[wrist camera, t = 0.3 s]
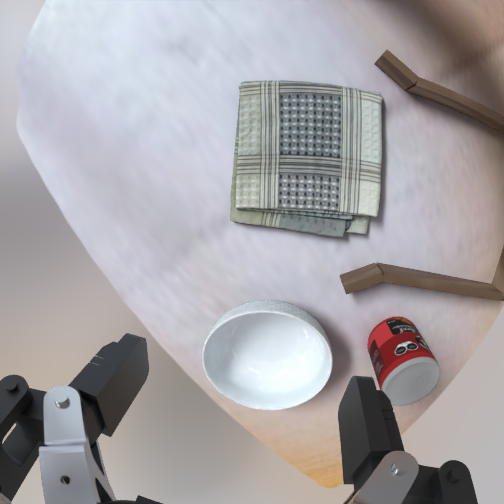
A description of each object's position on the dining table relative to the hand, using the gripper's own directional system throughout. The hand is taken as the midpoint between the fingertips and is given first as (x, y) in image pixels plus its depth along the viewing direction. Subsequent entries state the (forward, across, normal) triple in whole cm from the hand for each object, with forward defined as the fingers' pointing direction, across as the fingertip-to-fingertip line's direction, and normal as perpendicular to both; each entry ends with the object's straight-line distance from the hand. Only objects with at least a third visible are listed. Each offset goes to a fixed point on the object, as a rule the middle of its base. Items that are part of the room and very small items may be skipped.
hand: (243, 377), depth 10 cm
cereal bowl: (+28, -1, +17) cm, 32 cm away
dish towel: (+28, -2, -8) cm, 30 cm away
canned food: (+28, -19, +14) cm, 37 cm away
